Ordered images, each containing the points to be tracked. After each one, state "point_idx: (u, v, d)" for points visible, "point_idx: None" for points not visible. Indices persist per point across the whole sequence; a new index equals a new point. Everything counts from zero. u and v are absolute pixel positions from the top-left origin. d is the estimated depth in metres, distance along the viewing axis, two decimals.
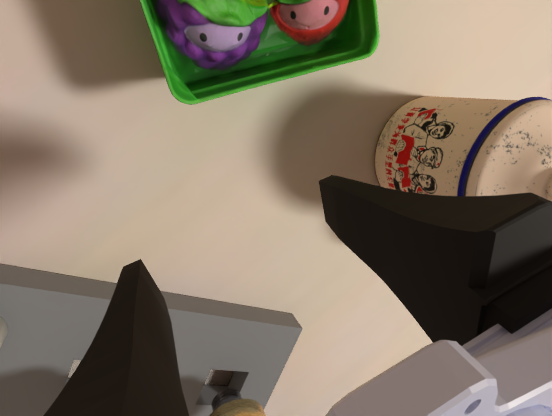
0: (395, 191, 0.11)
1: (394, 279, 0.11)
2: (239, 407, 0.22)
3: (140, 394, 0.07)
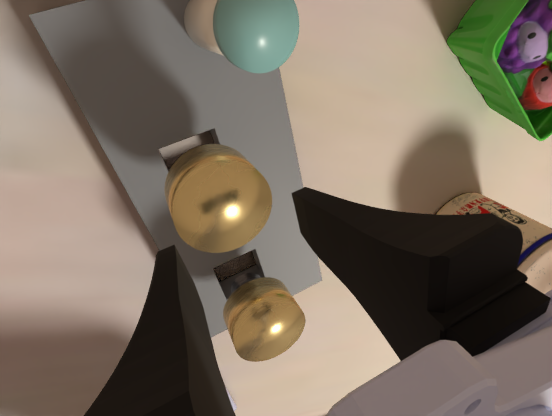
0: (363, 206, 0.10)
1: (363, 296, 0.11)
2: (288, 290, 0.21)
3: (196, 364, 0.07)
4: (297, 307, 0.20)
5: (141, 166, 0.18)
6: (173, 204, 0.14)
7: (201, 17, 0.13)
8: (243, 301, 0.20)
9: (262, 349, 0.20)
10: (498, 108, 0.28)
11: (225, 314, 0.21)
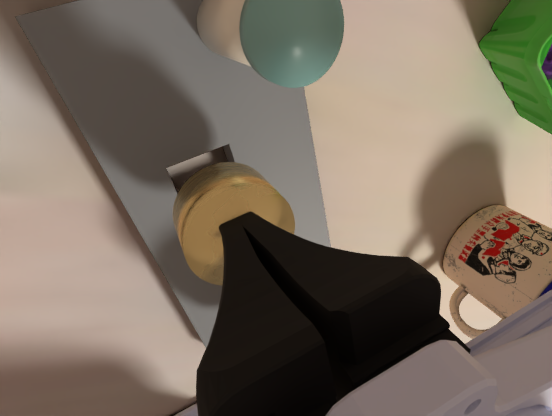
0: (296, 238, 0.10)
1: None
2: None
3: None
4: None
5: (146, 188, 0.16)
6: (184, 234, 0.12)
7: (220, 19, 0.11)
8: None
9: None
10: (531, 116, 0.26)
11: None
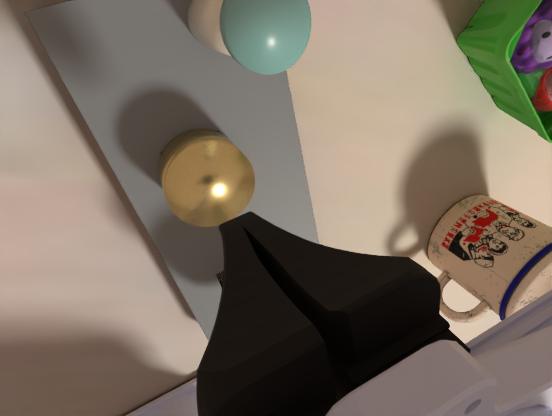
0: (296, 238, 0.10)
1: None
2: None
3: None
4: None
5: (142, 170, 0.17)
6: (165, 180, 0.16)
7: (206, 15, 0.12)
8: None
9: None
10: (508, 109, 0.27)
11: None
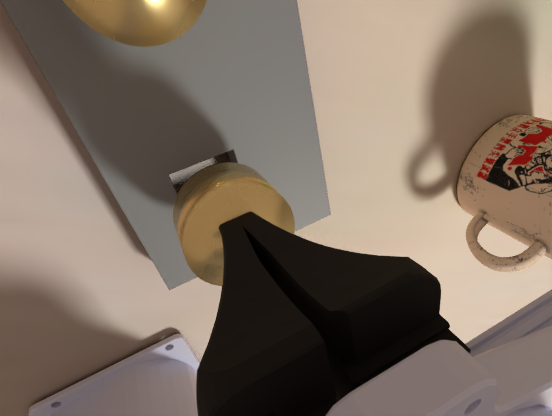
0: (296, 238, 0.10)
1: None
2: None
3: None
4: (282, 198, 0.13)
5: None
6: None
7: None
8: (198, 187, 0.13)
9: None
10: None
11: (174, 214, 0.14)
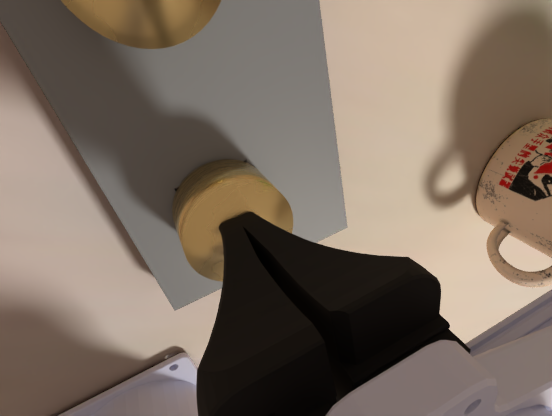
0: (296, 238, 0.10)
1: None
2: None
3: None
4: (281, 194, 0.13)
5: None
6: None
7: None
8: (197, 183, 0.13)
9: None
10: None
11: (174, 210, 0.14)
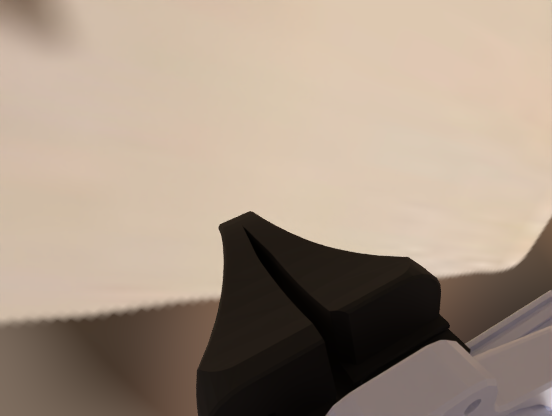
0: (296, 238, 0.10)
1: None
2: None
3: None
4: None
5: None
6: None
7: None
8: None
9: None
10: None
11: None
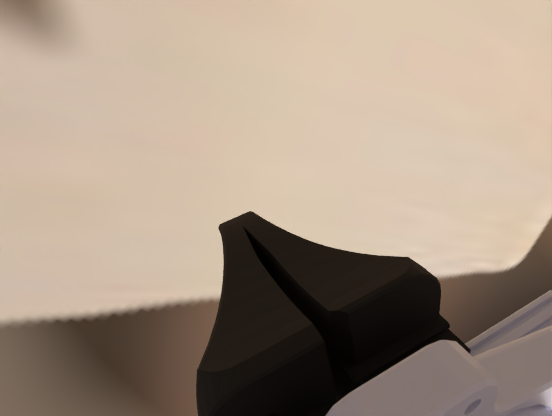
0: (296, 238, 0.10)
1: None
2: None
3: None
4: None
5: None
6: None
7: None
8: None
9: None
10: None
11: None
